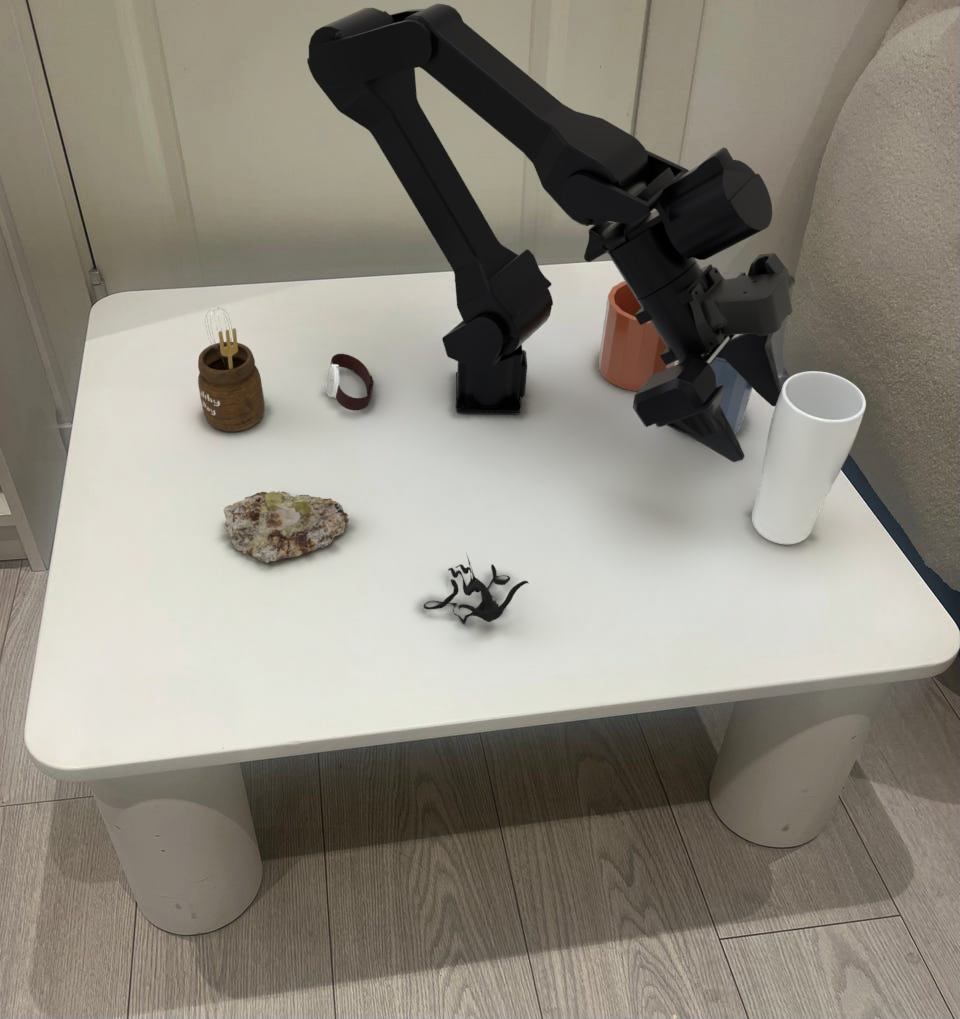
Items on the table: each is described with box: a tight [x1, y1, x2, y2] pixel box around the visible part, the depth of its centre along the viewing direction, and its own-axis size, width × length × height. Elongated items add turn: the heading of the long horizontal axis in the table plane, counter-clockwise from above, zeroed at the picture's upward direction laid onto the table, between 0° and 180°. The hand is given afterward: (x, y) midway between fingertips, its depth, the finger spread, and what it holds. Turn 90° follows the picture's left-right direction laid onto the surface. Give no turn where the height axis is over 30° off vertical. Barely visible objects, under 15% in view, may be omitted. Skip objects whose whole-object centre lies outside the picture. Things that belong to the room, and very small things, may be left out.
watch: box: [325, 353, 375, 412], centre depth 102 cm, size 8×5×4 cm, turn 16°
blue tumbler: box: [677, 354, 753, 435], centre depth 99 cm, size 7×7×10 cm
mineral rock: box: [223, 490, 350, 564], centre depth 88 cm, size 11×4×8 cm
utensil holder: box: [197, 307, 265, 432], centre depth 96 cm, size 6×6×12 cm
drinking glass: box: [751, 370, 867, 545], centre depth 86 cm, size 7×7×15 cm
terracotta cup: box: [598, 280, 678, 392], centre depth 105 cm, size 8×8×8 cm
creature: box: [423, 552, 530, 624], centre depth 82 cm, size 8×5×8 cm
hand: (759, 431), depth 88 cm, fingers open, 9 cm apart
